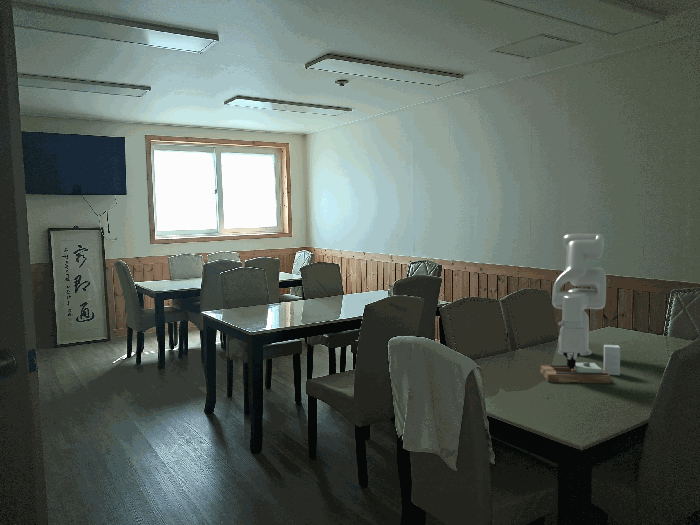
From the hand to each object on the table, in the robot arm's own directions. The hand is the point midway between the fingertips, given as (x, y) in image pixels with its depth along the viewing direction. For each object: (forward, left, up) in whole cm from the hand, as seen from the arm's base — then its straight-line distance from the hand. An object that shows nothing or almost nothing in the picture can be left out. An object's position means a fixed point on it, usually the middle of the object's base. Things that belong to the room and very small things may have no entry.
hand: (571, 368), depth 222 cm
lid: (0, +6, -1) cm, 6 cm away
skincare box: (-6, +18, -4) cm, 20 cm away
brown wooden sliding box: (0, +1, -4) cm, 4 cm away
